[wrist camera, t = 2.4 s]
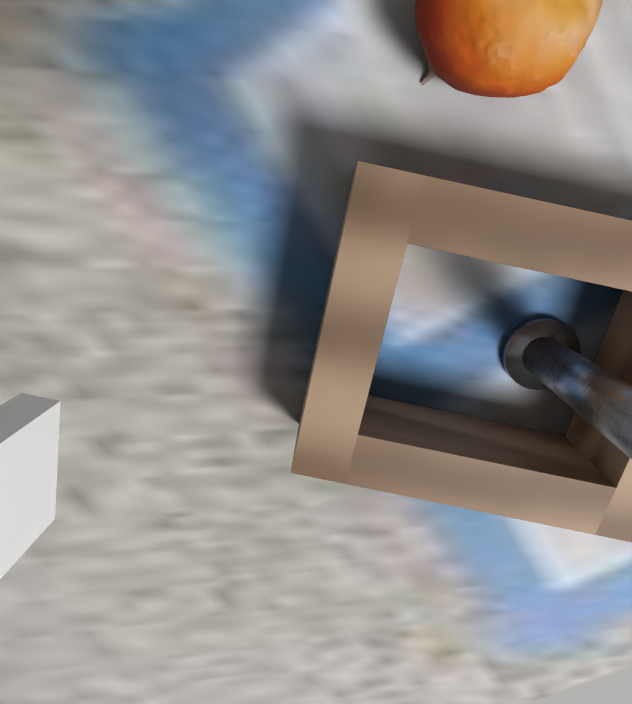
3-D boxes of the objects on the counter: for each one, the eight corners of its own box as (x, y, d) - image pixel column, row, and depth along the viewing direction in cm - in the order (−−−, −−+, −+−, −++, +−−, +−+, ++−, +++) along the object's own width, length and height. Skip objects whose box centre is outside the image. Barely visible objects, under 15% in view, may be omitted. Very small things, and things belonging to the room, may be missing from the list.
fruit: (356, -45, 23) (488, -184, 16) (476, -43, 26) (630, -157, 19) (386, 135, 25) (513, 83, 18) (494, 117, 28) (636, 66, 21)
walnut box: (592, 484, 32) (648, 545, 26) (299, 424, 32) (290, 472, 26) (696, 245, 27) (792, 255, 22) (353, 170, 27) (358, 160, 21)
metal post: (560, 392, 30) (739, 541, 17) (492, 378, 30) (617, 516, 17) (586, 326, 29) (801, 430, 16) (515, 311, 29) (670, 402, 15)
